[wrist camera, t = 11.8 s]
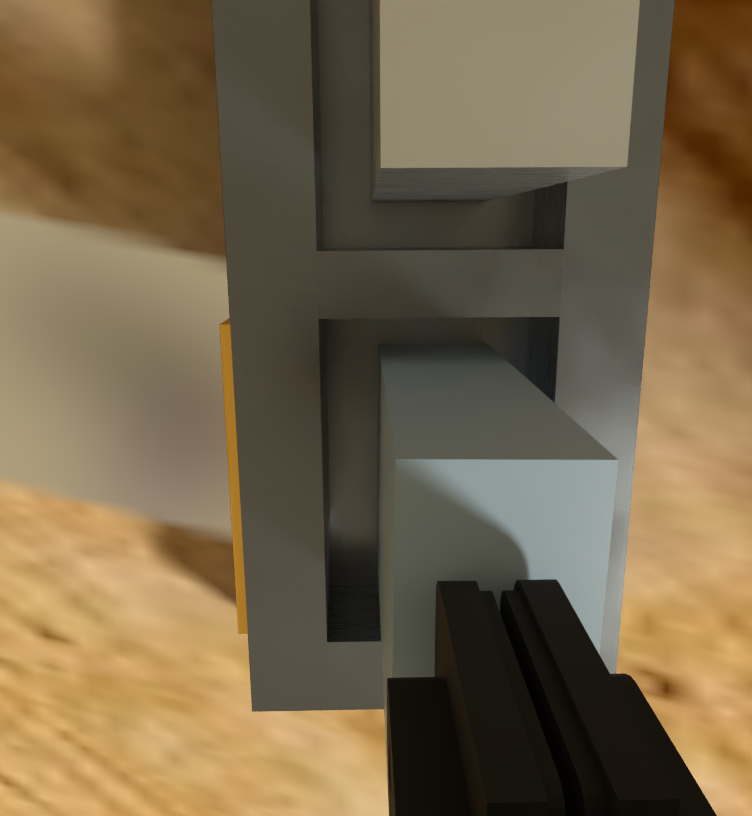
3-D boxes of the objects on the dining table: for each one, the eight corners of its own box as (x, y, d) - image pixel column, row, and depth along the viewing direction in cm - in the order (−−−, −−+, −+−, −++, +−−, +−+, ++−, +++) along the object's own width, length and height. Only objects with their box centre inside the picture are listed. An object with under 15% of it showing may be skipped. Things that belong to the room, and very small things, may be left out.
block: (488, 344, 19) (618, 459, 9) (478, 547, 21) (582, 827, 11) (378, 343, 19) (396, 459, 9) (377, 546, 21) (390, 828, 11)
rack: (624, -188, 17) (1064, -890, 6) (568, 631, 22) (756, 992, 12) (219, -189, 17) (-25, -913, 6) (262, 636, 22) (170, 1007, 12)
